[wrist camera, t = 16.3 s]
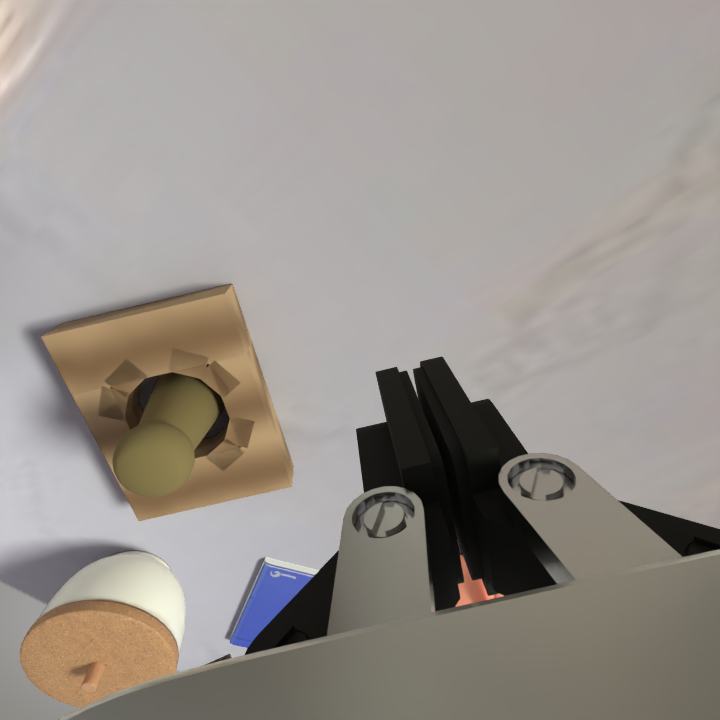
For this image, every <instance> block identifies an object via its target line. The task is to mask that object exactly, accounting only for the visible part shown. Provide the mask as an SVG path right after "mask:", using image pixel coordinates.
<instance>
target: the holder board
mask: <svg viewBox="0 0 720 720" xmlns="http://www.w3.org/2000/svg"><path fill="white" fill-rule="evenodd" d="M41 338H42V340H43V342H44V343H45V345H46V347H47V349H48V351H49V353H50V355H51V357H52V359H53V360H54V362H55V364H56V366H57V368H58V370H59V372H60V374H61V376H62V377H63V379H64V381H65V383H66V385H67V387H68V389H69V391H70V392H71V394H72V396H73V398H74V400H75V402H76V404H77V406H78V408H79V409H80V411H81V413H82V415H83V417H84V419H85V421H86V423H87V425H88V426H89V428H90V430H91V432H92V434H93V436H94V438H95V440H96V442H97V443H98V445H99V447H100V449H101V451H102V453H103V455H104V457H105V458H106V460H107V462H108V464H109V466H110V468H111V470H112V472H113V474H114V475H115V473H114V470H113V463H112V459H113V455H114V451H115V448H116V445H117V444H118V442H119V441H120V440H121V439H122V437H123V436H124V435H125V434H126V432H128V431H130V430H131V429H133V428H134V427H136V426H138V425H139V422H140V420H141V418H142V415H143V413H144V412H143V410H142V408H141V406H140V404H139V402H138V398H139V392H140V386H141V382H142V381H143V380H144V379H145V378H149V377H153V376H157V375H162V374H166V373H170V372H174V373H178V374H182V375H186V376H191V377H195V378H199V379H201V380H202V381H203V382H205V383H206V384H207V385H208V386H209V387H211V388H212V389H213V390H214V391H216V392H217V393H218V394H219V395H220V396H221V397H222V400H223V402H224V405H225V407H226V410H227V413H228V415H229V418H230V420H229V424H228V425H227V426H226V427H225V428H224V429H222V430H221V431H220V432H219V433H218V434H217V435H216V436H214V437H210V438H206V439H202V441H201V442H200V443H199V445H198V446H197V447H196V449H195V450H194V453H195V464H194V466H193V469H192V472H191V474H190V477H189V478H188V479H187V480H186V481H185V483H184V484H183V485H182V486H181V487H180V488H179V489H177V490H175V491H174V492H172V493H170V494H167V495H164V496H159V497H144V496H141V495H137V494H134V493H133V492H131V491H129V490H127V489H126V488H125V487H124V486H123V485H122V484H121V483H120V482H119V481H118V479H117V477H116V475H115V477H116V479H117V481H118V483H119V485H120V487H121V489H122V491H123V492H124V494H125V496H126V498H127V500H128V502H129V504H130V506H131V507H132V509H133V511H134V513H135V515H136V517H137V519H138V521H142V520H146V519H151V518H155V517H160V516H164V515H168V514H173V513H177V512H182V511H186V510H191V509H195V508H199V507H204V506H208V505H213V504H217V503H221V502H226V501H230V500H235V499H239V498H243V497H248V496H252V495H257V494H261V493H266V492H270V491H274V490H279V489H283V488H288V487H292V477H293V467H294V466H293V463H292V460H291V457H290V454H289V451H288V448H287V445H286V442H285V439H284V436H283V433H282V430H281V427H280V425H279V422H278V419H277V416H276V413H275V410H274V407H273V404H272V401H271V398H270V395H269V392H268V389H267V386H266V383H265V380H264V377H263V374H262V371H261V368H260V365H259V362H258V359H257V356H256V353H255V350H254V347H253V344H252V341H251V338H250V335H249V332H248V329H247V326H246V323H245V320H244V317H243V314H242V311H241V308H240V305H239V302H238V299H237V296H236V293H235V290H234V287H233V285H232V284H229V285H225V286H220V287H216V288H212V289H208V290H203V291H199V292H195V293H191V294H186V295H182V296H178V297H174V298H169V299H165V300H161V301H157V302H152V303H148V304H144V305H140V306H135V307H131V308H127V309H122V310H118V311H114V312H110V313H105V314H101V315H97V316H93V317H88V318H84V319H80V320H76V321H71V322H67V323H63V324H61V325H59V326H57V327H56V328H54V329H53V330H51V331H49V332H48V333H46V334H45V335H43V336H41Z"/></svg>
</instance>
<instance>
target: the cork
mask: <svg viewBox="0 0 720 720" xmlns="http://www.w3.org/2000/svg"><path fill="white" fill-rule="evenodd" d="M223 408H224V402H223V400H222V397H221V396H220V395H219V394H218V393H217V392H216V391H214V390H213V389H212V388H211V387H209V386H208V385H207V384H206V383H205V382H203V381H202V380H201V379H199V378H195V377H191V376H186V375H182V374H178V373H174V372H170V373H166V374H162V375H161V376H160V377H159V378H158V380H157V381H156V384H155V386H154V388H153V391H152V393H151V396H150V398H149V401H148V403H147V405H146V408H145V410H144V413H143V415H142V418H141V420H140V422H139V425H138V426H136V427H134V428H133V429H131V430H130V431H128V432H126V434H125V435H124V436H123V437H122V439H121V440H120V441H119V442H118V444H117V445H116V448H115V451H114V455H113V459H112V463H113V470H114V473H115V475H116V477H117V479H118V481H119V482H120V483H121V484H122V485H123V486H124V487H125V488H126V489H127V490H129V491H131V492H133V493H134V494H137V495H141V496H144V497H159V496H164V495H167V494H170V493H172V492H174V491H175V490H177V489H179V488H180V487H181V486H182V485H183V484H184V483H185V481H186V480H187V479H188V478H189V477H190V474H191V472H192V469H193V466H194V464H195V453H194V450H195V449H196V447H197V446H198V445H199V443H200V442H201V441H202V439H203V438H204V436H205V435H206V434H207V432H208V431H209V429H210V428H211V427H212V425H213V424H214V423H215V421H216V420H217V418H218V417H219V416H220V414H221V413H222V411H223Z"/></svg>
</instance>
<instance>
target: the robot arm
mask: <svg viewBox="0 0 720 720" xmlns="http://www.w3.org/2000/svg"><path fill="white" fill-rule="evenodd" d="M413 373H414V378H415V384H416V389H417V394H418V397H417V395H416V392H415V390H414V387H413V385H412V382H411V380H410V377H409V375H408V372H407V371H403V372H399V371H398V368H397V367H394V368H390V369H386V370H381V371H377V372H376V376H377V381H378V385H379V390H380V394H381V399H382V403H383V407H384V412H385V416H386V421H387V422H384V423H380V424H375V425H371V426H367V427H362V428H358V429H356V432H357V440H358V448H359V456H360V464H361V472H362V480H363V488H364V493H363V494H361V495H360V496H359V497H357V498H356V499H355V500H354V501H353V502H352V503H351V504H350V505H349V507H348V508H347V510H346V512H345V515H344V518H343V525H342V532H341V539H340V546H339V550H338V551H337V553H336V554H335V555H334V556H333V557H332V558H331V559H330V560H329V561H328V562H327V563H326V564H325V565H324V566H323V567H322V568H321V569H320V570H319V571H318V572H317V573H316V574H315V575H314V577H313V578H312V579H311V580H310V581H309V582H308V583H307V584H306V585H305V586H304V587H303V588H302V589H301V590H300V591H299V592H298V593H297V594H296V595H295V596H294V597H293V598H292V599H291V601H290V602H289V603H288V604H287V605H286V606H285V607H284V608H283V609H282V610H281V611H280V612H279V613H278V614H277V615H276V616H275V617H274V618H273V619H272V620H271V621H270V622H269V623H268V625H267V626H266V627H265V628H264V629H263V630H262V631H261V632H260V633H259V634H258V635H257V636H256V638H255V639H254V640H253V642H252V643H251V644H250V646H249V647H248V649H247V651H246V653H245V655H243V656H239V657H235V658H232V657H231V655H230V654H228V655H226V656H224V657H221V658H219V659H217V660H215V661H212V662H210V663H208V664H206V665H203V666H200V667H196V668H192V669H189V670H185V671H181V672H178V673H174V674H170V675H167V676H163V677H159V678H155V679H152V680H149V681H146V682H143V683H141V684H138V685H135V686H132V687H129V688H127V689H124V690H121V691H118V692H116V693H113V694H110V695H108V696H106V697H104V698H101V699H99V700H97V701H95V702H93V703H91V704H88V705H86V706H84V707H82V708H80V709H77V710H75V711H73V712H71V713H69V714H67V715H66V716H64V717H62V718H60V719H59V720H720V529H717V528H714V527H710V526H706V525H703V524H699V523H696V522H692V521H689V520H685V519H682V518H678V517H675V516H671V515H668V514H664V513H661V512H657V511H654V510H650V509H647V508H643V507H640V506H636V505H633V504H629V503H626V502H622V501H619V500H617V499H616V498H614V497H613V496H612V495H611V494H610V493H609V492H608V491H606V490H605V489H604V488H603V487H602V486H601V485H599V484H598V483H597V482H596V481H595V480H594V479H593V478H591V477H590V476H589V475H588V474H587V473H586V472H585V471H583V470H582V469H581V468H580V467H579V466H578V465H576V464H575V463H573V462H572V461H570V460H568V459H566V458H563V457H560V456H558V455H553V454H547V453H530V454H528V453H527V451H526V450H525V449H524V447H523V446H522V444H521V443H520V442H519V440H518V439H517V437H516V436H515V434H514V433H513V432H512V430H511V429H510V427H509V426H508V424H507V423H506V422H505V420H504V419H503V417H502V416H501V414H500V413H499V412H498V410H497V409H496V407H495V406H494V405H493V403H492V402H491V401H490V400H489V399H485V400H480V401H476V402H472V403H471V402H470V400H469V399H468V397H467V396H466V394H465V392H464V391H463V389H462V387H461V386H460V384H459V383H458V381H457V379H456V378H455V376H454V374H453V373H452V371H451V370H450V368H449V366H448V365H447V363H446V361H445V360H444V358H443V357H438V358H434V359H429V360H425V361H421V362H420V368H416V369H413ZM418 399H419V400H418ZM457 540H458V542H457ZM458 543H459V546H460V548H461V551H462V554H463V557H464V560H465V562H466V565H467V568H468V571H469V574H470V576H471V579H472V580H473V581H474V580H478V579H482V581H483V584H484V587H485V589H486V592H487V594H488V596H491V595H495V594H501V595H504V596H502V597H498V598H493V599H489V600H484V601H480V602H475V603H471V604H466V605H462V606H457V607H455V606H456V605H457V603H458V601H459V600H460V592H459V587H458V584H460V583H464V576H463V570H462V565H461V559H460V553H459V548H458Z"/></svg>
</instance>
